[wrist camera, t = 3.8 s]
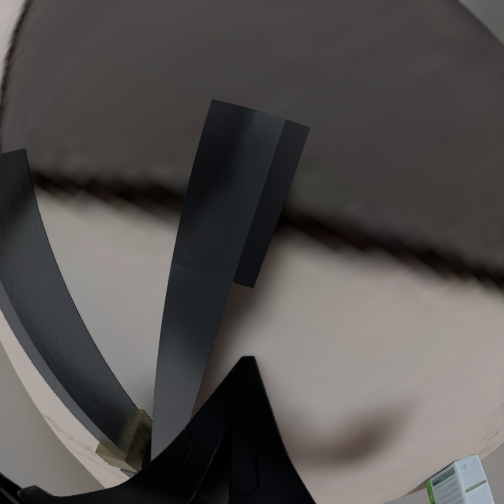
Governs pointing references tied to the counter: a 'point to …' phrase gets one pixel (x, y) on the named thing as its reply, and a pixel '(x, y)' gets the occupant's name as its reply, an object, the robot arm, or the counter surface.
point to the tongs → (60, 327)
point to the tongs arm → (218, 245)
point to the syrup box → (460, 484)
